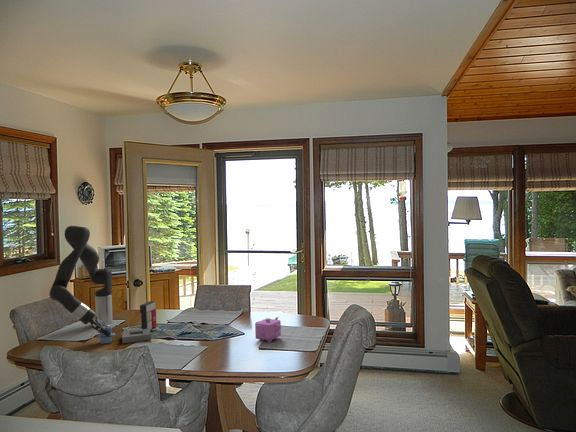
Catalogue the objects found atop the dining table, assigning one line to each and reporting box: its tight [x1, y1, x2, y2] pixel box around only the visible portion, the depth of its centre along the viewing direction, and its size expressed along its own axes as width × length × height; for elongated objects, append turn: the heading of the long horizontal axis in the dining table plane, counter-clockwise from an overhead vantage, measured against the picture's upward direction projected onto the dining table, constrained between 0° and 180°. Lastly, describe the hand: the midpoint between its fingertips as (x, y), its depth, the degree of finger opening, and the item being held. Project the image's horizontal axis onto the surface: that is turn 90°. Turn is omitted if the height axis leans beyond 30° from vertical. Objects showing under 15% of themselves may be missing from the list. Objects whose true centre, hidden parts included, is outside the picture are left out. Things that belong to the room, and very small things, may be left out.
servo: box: [95, 324, 116, 345], centre depth 233 cm, size 4×9×9 cm, turn 109°
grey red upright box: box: [139, 300, 157, 330], centre depth 255 cm, size 11×4×15 cm, turn 168°
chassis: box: [121, 328, 152, 344], centre depth 238 cm, size 12×14×3 cm
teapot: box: [254, 316, 282, 343], centre depth 230 cm, size 15×13×11 cm
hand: (109, 333), depth 234 cm, fingers open, 6 cm apart
